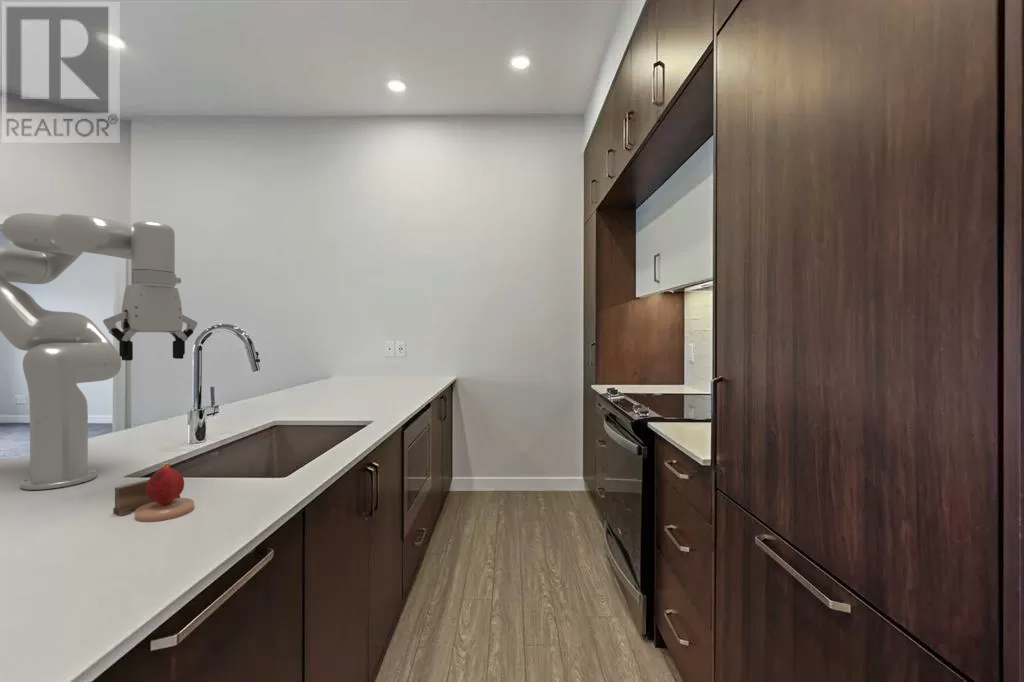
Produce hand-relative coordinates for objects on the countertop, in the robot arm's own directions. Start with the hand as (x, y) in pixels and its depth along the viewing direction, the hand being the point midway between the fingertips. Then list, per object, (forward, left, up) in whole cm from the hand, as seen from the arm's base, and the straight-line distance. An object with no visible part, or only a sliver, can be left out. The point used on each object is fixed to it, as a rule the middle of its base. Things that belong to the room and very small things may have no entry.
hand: (153, 359), depth 103 cm
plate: (+18, -6, -28) cm, 34 cm away
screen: (+11, -6, -28) cm, 31 cm away
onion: (+17, -6, -27) cm, 33 cm away
